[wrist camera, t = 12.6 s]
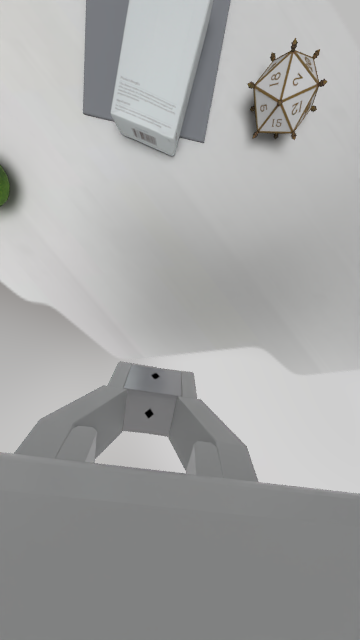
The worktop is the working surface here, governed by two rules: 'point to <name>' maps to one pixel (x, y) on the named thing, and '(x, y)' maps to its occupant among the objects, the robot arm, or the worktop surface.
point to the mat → (104, 53)
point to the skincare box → (158, 69)
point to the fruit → (3, 186)
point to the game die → (285, 92)
